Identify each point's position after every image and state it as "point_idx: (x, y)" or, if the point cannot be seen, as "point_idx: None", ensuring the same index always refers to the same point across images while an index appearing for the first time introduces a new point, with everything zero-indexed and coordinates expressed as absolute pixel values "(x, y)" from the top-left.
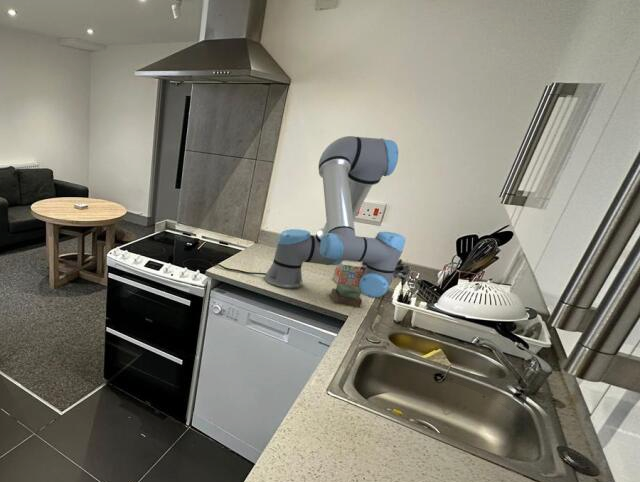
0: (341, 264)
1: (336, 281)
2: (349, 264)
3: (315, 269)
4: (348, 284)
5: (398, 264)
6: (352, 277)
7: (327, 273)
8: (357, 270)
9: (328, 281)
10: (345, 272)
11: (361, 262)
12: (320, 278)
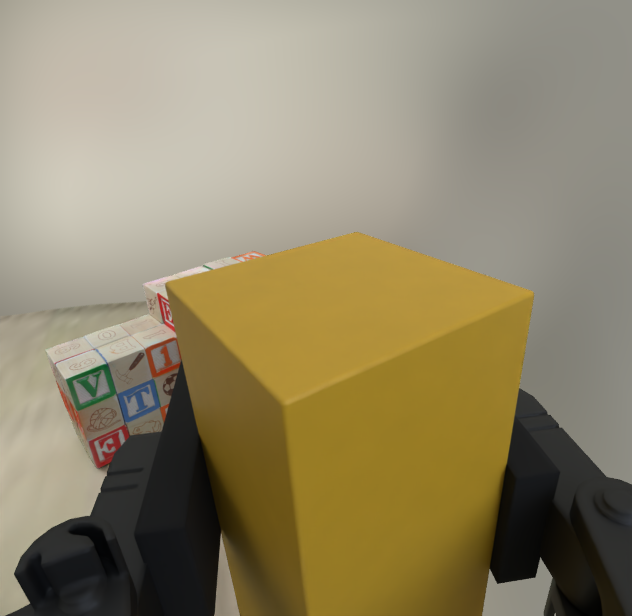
0: (59, 373)
1: (89, 455)
2: (100, 354)
3: (7, 397)
4: None
5: (535, 493)
6: (150, 404)
7: (61, 397)
8: (154, 364)
9: (49, 477)
10: (100, 405)
11: (157, 312)
12: (7, 473)
